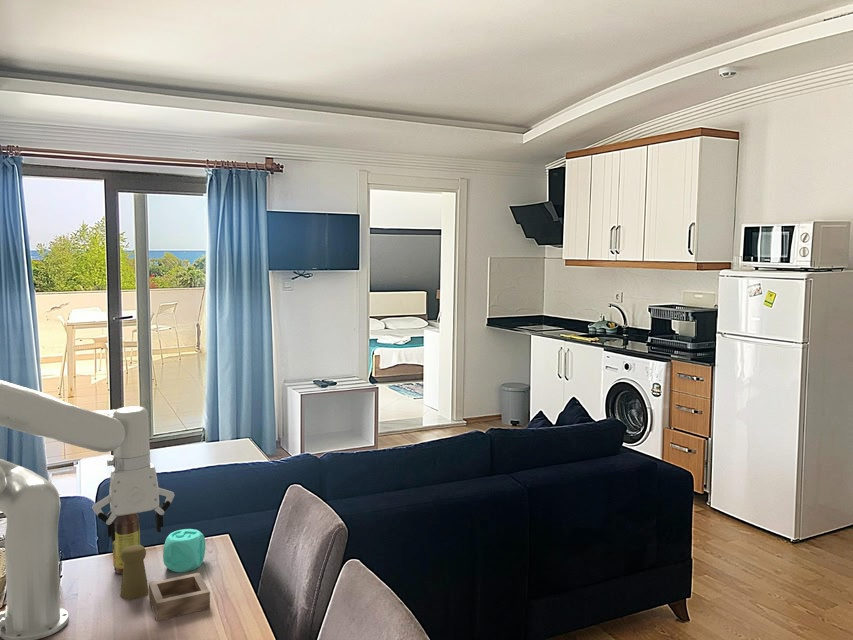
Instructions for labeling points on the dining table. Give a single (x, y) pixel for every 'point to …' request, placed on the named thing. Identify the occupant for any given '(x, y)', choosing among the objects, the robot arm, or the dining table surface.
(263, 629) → the dining table surface
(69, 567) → the dining table surface
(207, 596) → the shaker holder
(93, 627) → the dining table surface
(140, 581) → the cork
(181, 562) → the decorative dice
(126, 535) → the sauce bottle
